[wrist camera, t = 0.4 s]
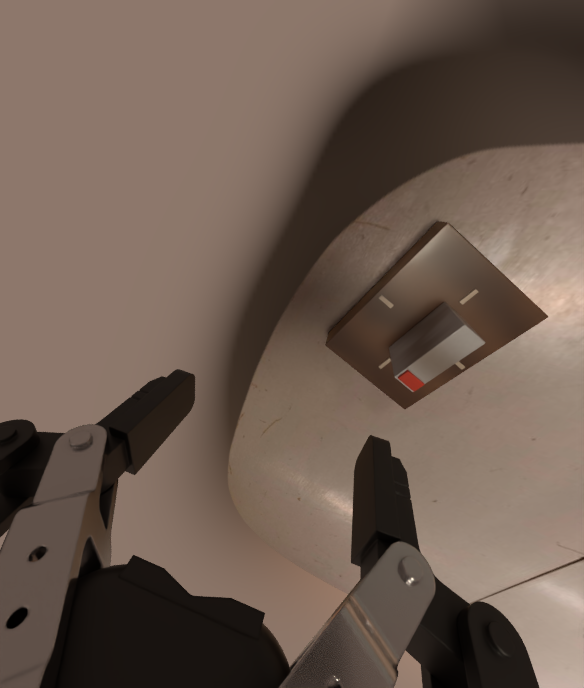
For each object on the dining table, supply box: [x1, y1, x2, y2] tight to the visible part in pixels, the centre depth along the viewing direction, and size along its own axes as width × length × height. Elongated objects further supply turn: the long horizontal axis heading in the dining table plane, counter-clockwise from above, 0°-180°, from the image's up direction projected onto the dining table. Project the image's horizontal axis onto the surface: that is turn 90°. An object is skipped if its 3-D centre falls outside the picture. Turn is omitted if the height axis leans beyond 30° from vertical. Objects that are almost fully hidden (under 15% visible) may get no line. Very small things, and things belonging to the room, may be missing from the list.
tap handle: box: [389, 302, 485, 392], centre depth 20 cm, size 6×2×5 cm, turn 143°
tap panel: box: [325, 221, 548, 409], centre depth 24 cm, size 14×11×3 cm
